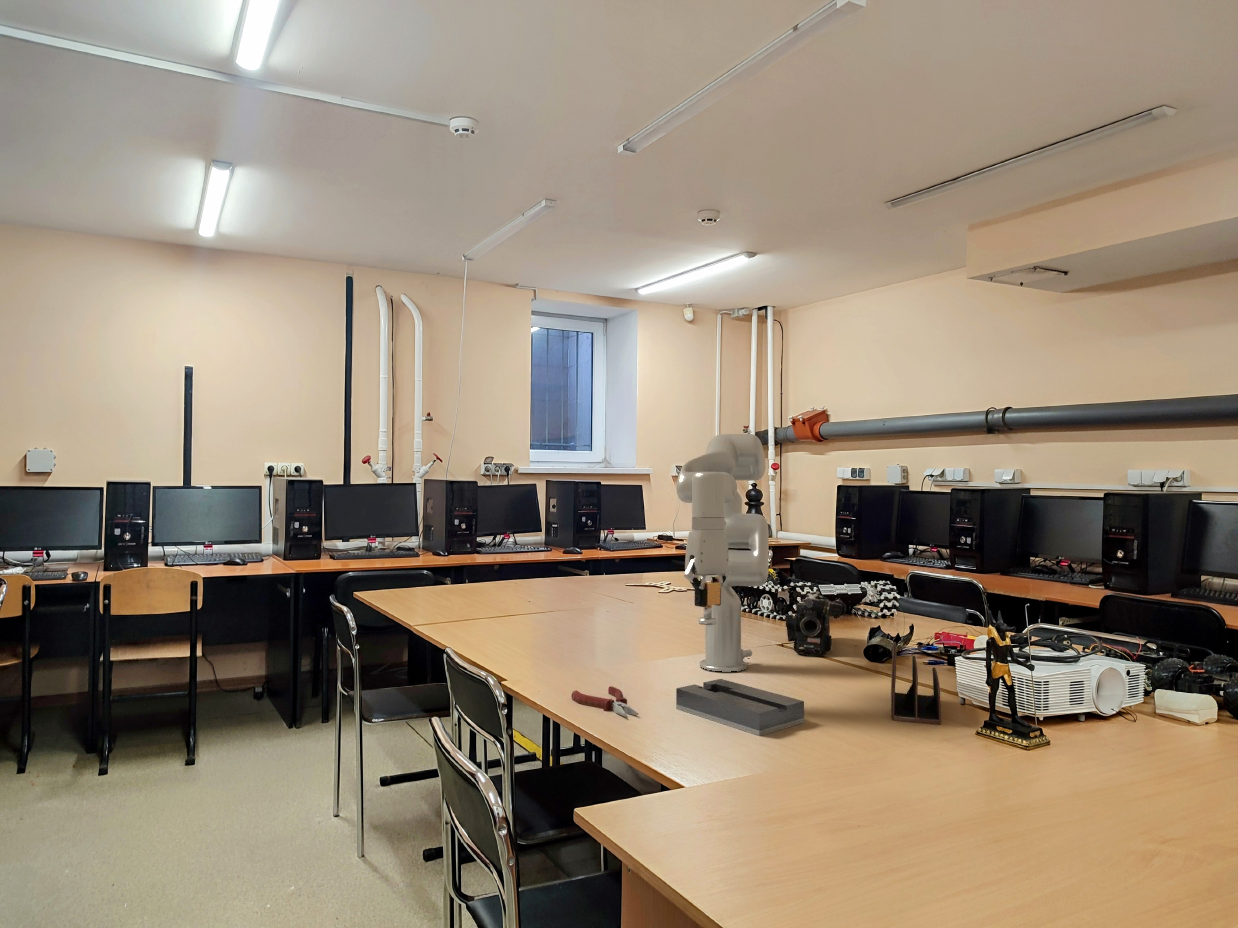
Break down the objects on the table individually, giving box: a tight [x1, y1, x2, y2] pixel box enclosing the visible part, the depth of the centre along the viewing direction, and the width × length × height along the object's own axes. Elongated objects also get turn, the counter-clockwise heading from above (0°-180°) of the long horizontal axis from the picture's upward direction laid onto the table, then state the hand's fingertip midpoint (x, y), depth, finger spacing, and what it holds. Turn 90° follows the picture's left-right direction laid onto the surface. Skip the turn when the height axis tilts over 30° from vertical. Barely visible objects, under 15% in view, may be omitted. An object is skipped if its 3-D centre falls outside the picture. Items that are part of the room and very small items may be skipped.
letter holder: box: [890, 641, 942, 726], centre depth 179 cm, size 10×20×14 cm, turn 162°
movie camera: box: [785, 591, 848, 657], centre depth 244 cm, size 31×18×18 cm, turn 157°
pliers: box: [571, 686, 639, 718], centre depth 181 cm, size 12×20×3 cm, turn 27°
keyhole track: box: [675, 678, 805, 737], centre depth 174 cm, size 14×24×4 cm, turn 39°
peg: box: [698, 581, 720, 626], centre depth 186 cm, size 4×4×10 cm
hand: (707, 604), depth 185 cm, fingers closed on peg, 4 cm apart
